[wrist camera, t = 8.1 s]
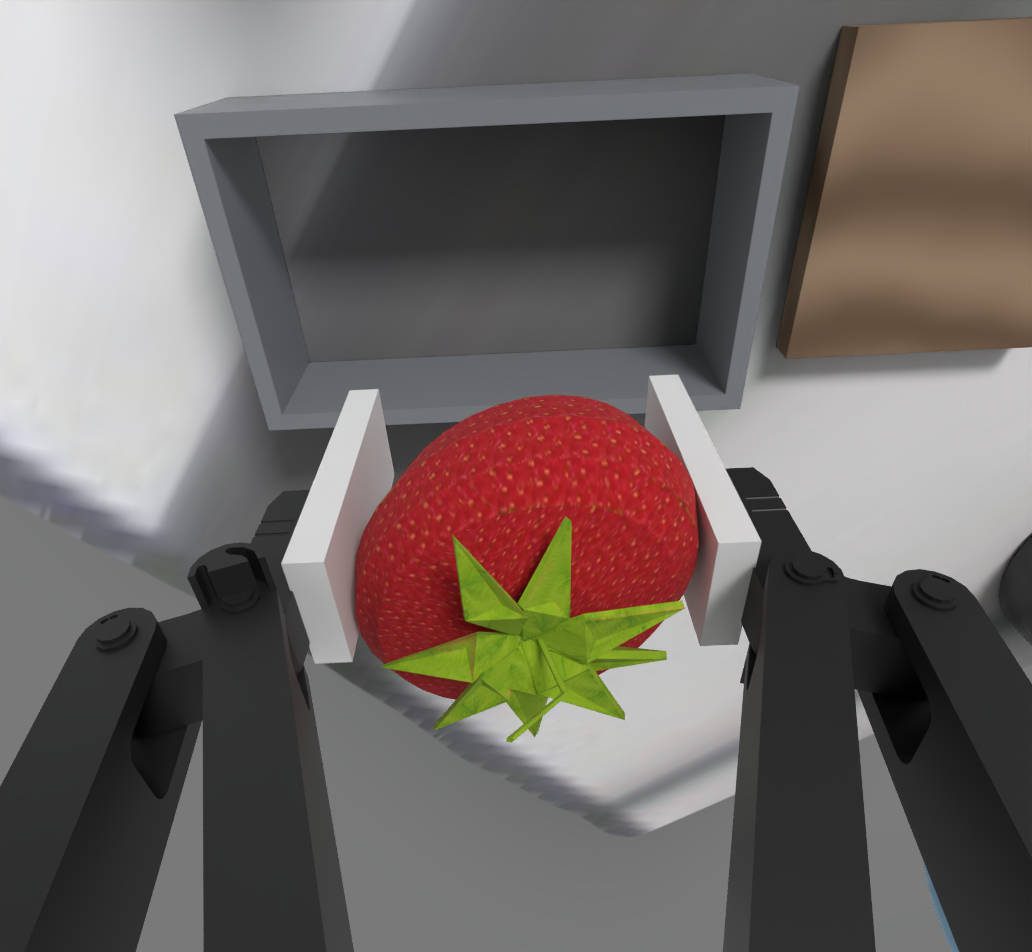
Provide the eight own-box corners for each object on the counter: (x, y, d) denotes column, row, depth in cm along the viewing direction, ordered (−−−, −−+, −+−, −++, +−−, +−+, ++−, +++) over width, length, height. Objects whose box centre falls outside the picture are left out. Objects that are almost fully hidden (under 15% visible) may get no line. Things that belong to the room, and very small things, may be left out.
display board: (1020, 334, 35) (1040, 346, 33) (775, 346, 35) (785, 358, 33) (1162, 11, 27) (1194, 11, 25) (842, 26, 27) (859, 26, 25)
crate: (708, 358, 35) (740, 408, 30) (298, 376, 35) (269, 430, 31) (749, 73, 27) (799, 85, 23) (226, 97, 27) (174, 114, 23)
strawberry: (338, 425, 18) (200, 775, 10) (566, 251, 15) (646, 524, 7) (477, 553, 20) (463, 910, 12) (690, 423, 18) (851, 765, 10)
